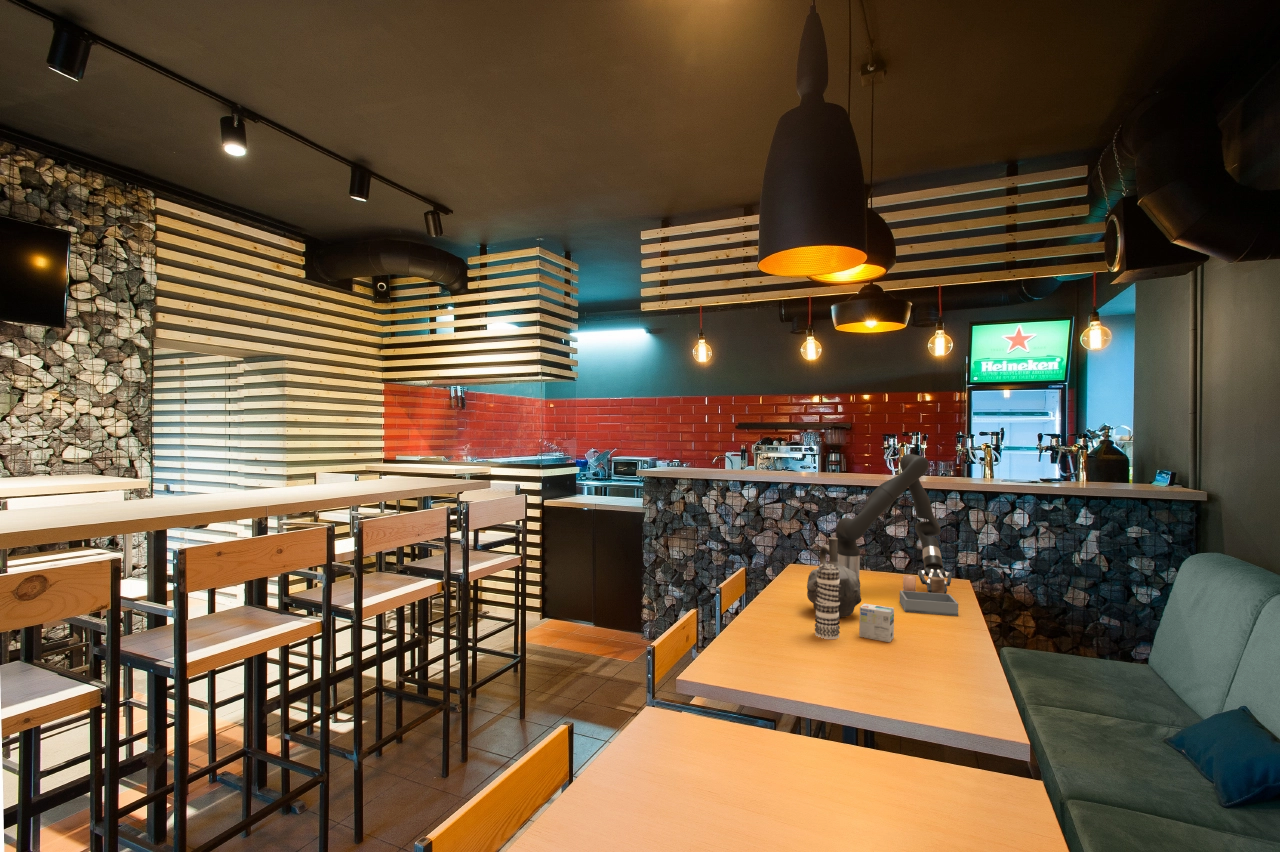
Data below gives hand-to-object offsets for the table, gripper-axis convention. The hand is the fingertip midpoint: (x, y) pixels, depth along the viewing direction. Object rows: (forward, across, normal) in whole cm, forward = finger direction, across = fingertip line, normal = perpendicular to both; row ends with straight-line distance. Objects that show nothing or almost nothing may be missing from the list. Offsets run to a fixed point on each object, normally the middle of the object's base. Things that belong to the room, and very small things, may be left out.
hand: (937, 592), depth 275 cm
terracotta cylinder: (+2, -11, +4) cm, 12 cm away
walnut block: (+2, 0, +4) cm, 5 cm away
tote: (+11, -6, -5) cm, 14 cm away
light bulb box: (+42, -31, -36) cm, 63 cm away
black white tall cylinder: (+44, -48, -38) cm, 76 cm away
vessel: (+24, -44, -17) cm, 53 cm away
